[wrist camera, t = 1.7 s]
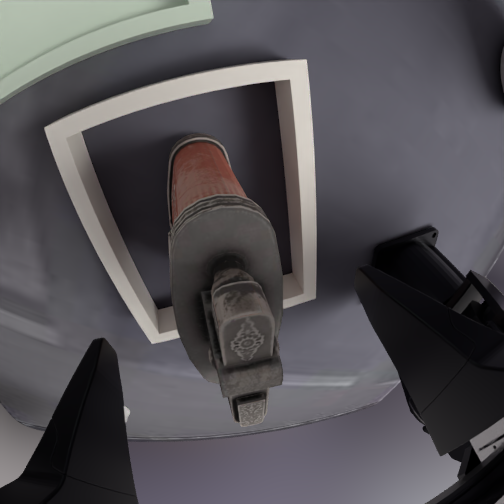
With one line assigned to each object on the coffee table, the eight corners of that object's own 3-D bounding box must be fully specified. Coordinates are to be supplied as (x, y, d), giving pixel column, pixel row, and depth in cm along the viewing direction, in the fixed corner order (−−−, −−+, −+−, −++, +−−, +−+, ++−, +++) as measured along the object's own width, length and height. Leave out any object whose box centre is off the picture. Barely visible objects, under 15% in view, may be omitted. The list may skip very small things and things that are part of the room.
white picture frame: (288, 59, 11) (306, 59, 10) (304, 277, 20) (315, 298, 18) (60, 118, 10) (44, 127, 8) (151, 320, 18) (152, 343, 17)
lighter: (158, 138, 12) (142, 301, 4) (232, 129, 13) (345, 265, 5) (180, 275, 17) (208, 444, 9) (237, 266, 18) (295, 425, 10)
